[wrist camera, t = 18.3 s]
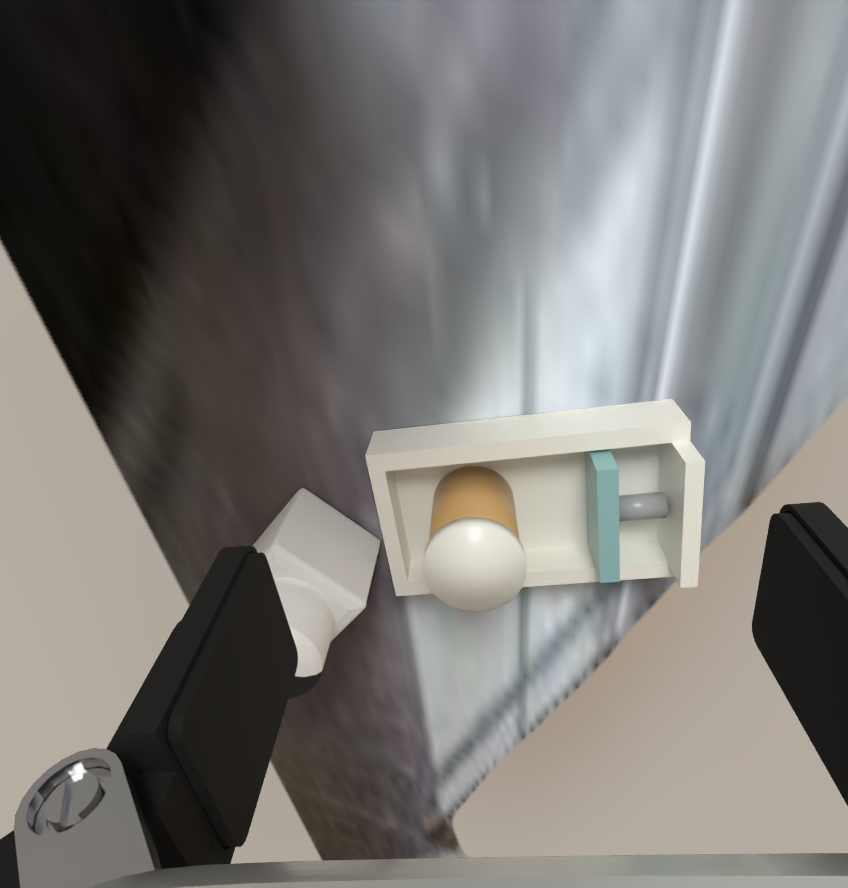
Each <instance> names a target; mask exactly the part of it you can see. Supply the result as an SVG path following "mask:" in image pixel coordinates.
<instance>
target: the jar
mask: <svg viewBox="0 0 848 888" xmlns="http://www.w3.org/2000/svg"><path fill="white" fill-rule="evenodd" d="M526 574H527V565H526V558H525V552H524V548H523V546H522V543H521V541H520V540H519V533H518V526H517V519H516V511H515V504H514V497H513V492H512V489H511V487H510V485H509V483H508V482H507V481H506V480H505V479H504V478H503V477H502V476H501V475H500V474H499V473H497V472H495V471H493V470H491V469H489V468H485V467H481V466H466V467H461V468H458V469H455V470H453V471H451V472H450V473H448V474H447V475H446V476H444V477H443V478H442V479H441V480H440V482H439V483H438V485H437V487H436V489H435V492H434V497H433V506H432V516H431V526H430V536H429V541H428V543H427V545H426V548H425V552H424V560H423V576H424V579H425V582H426V584H427V586H428V588H429V589H430V591H431V592H432V593H433V594H434V595H435V596H436V597H437V598H438V599H439V600H441V601H442V602H444V603H445V604H447V605H449V606H451V607H454V608H457V609H461V610H466V611H485V610H490V609H494V608H497V607H500V606H502V605H504V604H506V603H507V602H509V601H510V600H511V599H513V598H514V597H515V596H516V595H517V594H518V593H519V591H520V590H521V588H522V587H523V585H524V582H525V579H526Z"/></svg>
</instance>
